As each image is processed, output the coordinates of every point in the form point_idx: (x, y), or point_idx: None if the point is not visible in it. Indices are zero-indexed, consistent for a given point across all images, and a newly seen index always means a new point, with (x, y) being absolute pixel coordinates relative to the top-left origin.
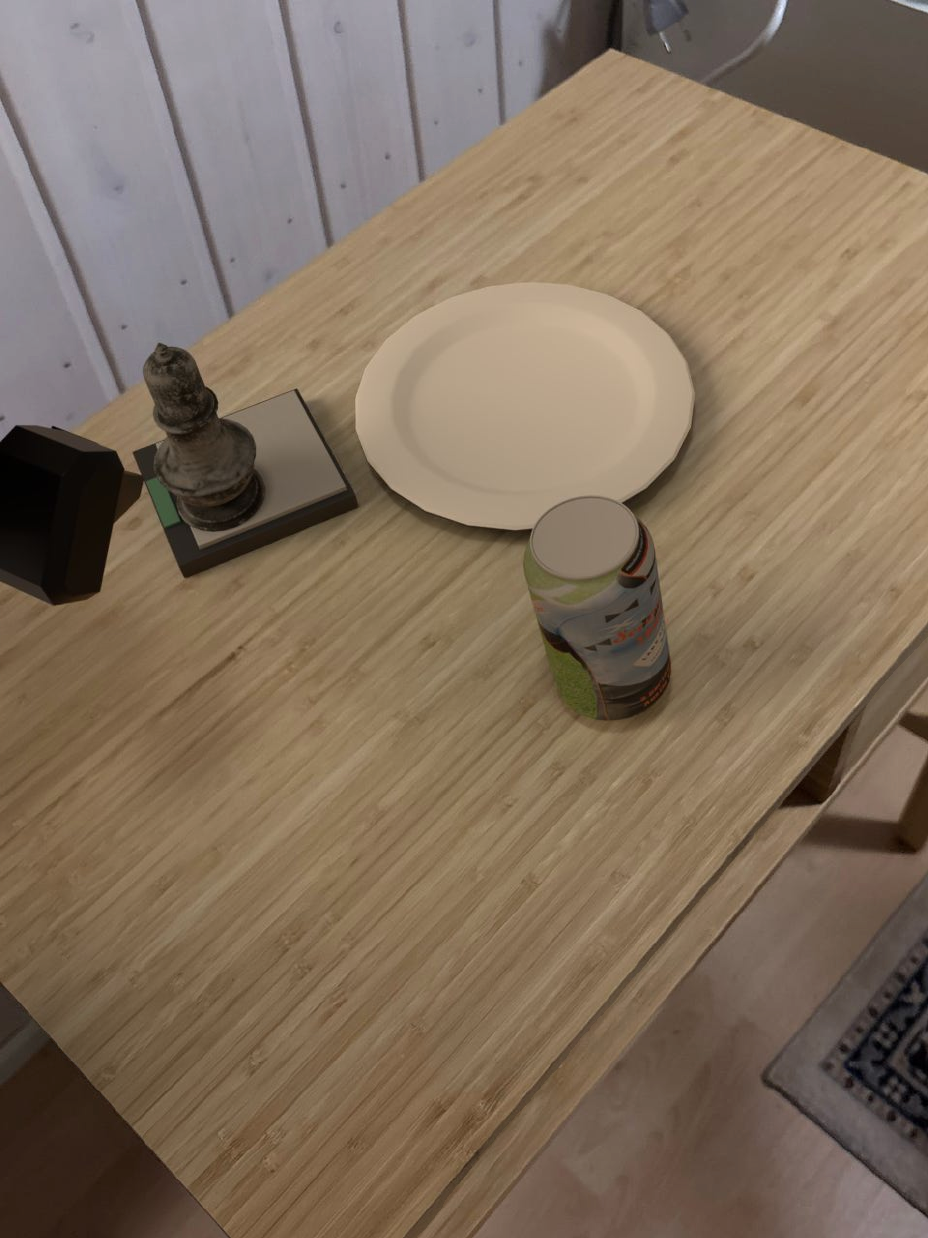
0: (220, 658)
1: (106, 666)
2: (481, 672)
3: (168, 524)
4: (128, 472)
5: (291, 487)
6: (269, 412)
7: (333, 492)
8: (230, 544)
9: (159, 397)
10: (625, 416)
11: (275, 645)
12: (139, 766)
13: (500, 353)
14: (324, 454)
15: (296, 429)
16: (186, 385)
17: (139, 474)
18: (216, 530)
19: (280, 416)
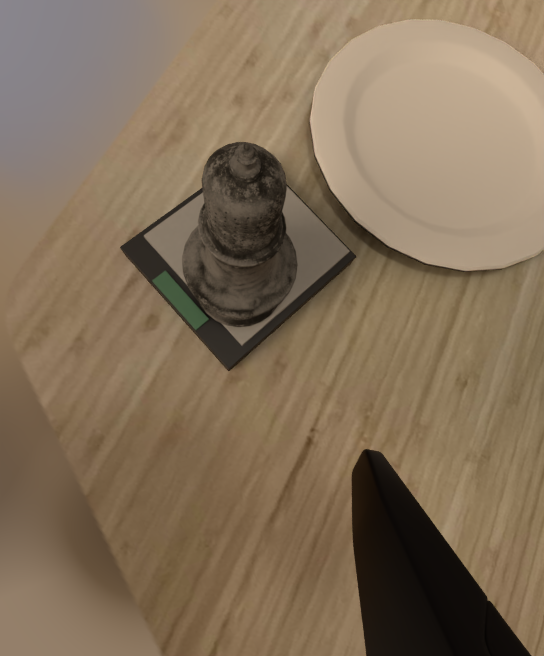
0: (299, 446)
1: (195, 486)
2: (511, 399)
3: (199, 326)
4: (405, 496)
5: (302, 262)
6: None
7: (340, 259)
8: (267, 333)
9: (239, 231)
10: (526, 143)
11: (341, 419)
12: (276, 582)
13: (408, 93)
14: (315, 220)
15: None
16: (281, 207)
17: (381, 457)
18: (253, 324)
19: None
